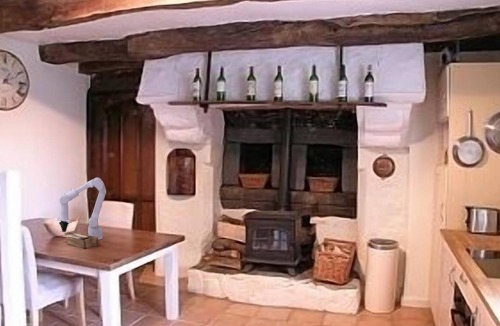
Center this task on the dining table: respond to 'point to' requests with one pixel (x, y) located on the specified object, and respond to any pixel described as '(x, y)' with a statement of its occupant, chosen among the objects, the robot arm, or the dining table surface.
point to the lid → (74, 235)
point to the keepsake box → (83, 242)
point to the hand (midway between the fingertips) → (64, 231)
